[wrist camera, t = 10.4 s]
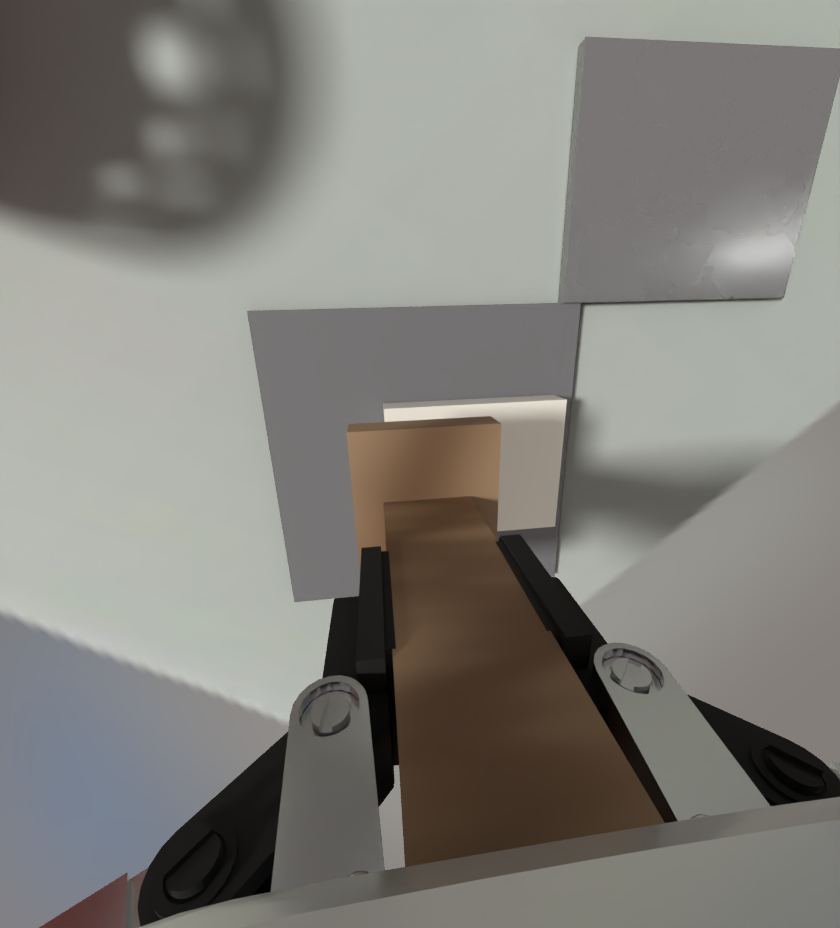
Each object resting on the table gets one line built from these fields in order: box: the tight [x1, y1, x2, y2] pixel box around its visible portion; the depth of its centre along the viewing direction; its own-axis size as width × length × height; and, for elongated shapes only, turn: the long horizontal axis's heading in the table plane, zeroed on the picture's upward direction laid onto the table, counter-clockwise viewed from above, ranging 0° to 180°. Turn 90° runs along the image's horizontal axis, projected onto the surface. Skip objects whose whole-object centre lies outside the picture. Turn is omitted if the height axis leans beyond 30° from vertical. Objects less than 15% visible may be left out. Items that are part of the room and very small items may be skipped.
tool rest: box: [558, 37, 840, 303], centre depth 18 cm, size 12×10×1 cm
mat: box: [247, 303, 581, 602], centre depth 21 cm, size 16×16×1 cm
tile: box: [383, 395, 567, 531], centre depth 21 cm, size 2×7×9 cm
